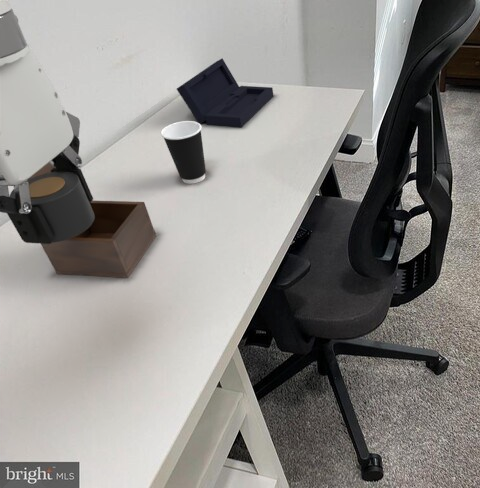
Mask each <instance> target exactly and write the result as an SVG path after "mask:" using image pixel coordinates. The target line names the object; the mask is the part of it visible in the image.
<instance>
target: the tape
mask: <svg viewBox="0 0 480 488" xmlns="http://www.w3.org/2000/svg"><path fill="white" fill-rule="evenodd" d="M28 183H29V190H30V197H31V204H32V207H38V208H39V209H40V210H41V212H42V214H43V216H44V218H45V220H46V222H47V224H48V226H49V228H50V229H51V231H52V233H53V235H54V241H53V242H52V243H55V242H60V241H64V240H67V239H70V238H73V237H75V236H77V235H79V234H81V233H82V232H84V231H85V230H86V229H88V228H89V227H90V226H91V224H92V223H93V221H94V218H95V215H94V212H93V210H92V208H91V205H90V203H89V201H88V198H87V196H86V194H85V192H84V189H83V187H82V185H81V182H80V180H79V178H78V176H77V175H76V174H74V173H71V172H64V171H59V172H50V173H45V174H42V175H38V176H35V177H33V178H30V179H28ZM9 196H10V197H11V198H14V199H15V192H14V188H13V189H12V190H11V192H10V193H9Z"/></svg>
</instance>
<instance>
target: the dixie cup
mask: <svg viewBox="0 0 480 488" xmlns="http://www.w3.org/2000/svg"><path fill="white" fill-rule="evenodd" d="M202 128H203V127H202V124H201V123H200V124H199V123H198V121H194V120H183V121H177V122H174V123H171V124H168V125H166V126H165V127H163V128H162V129H161V131H160V136H161V138H163V140H164V143H165V145H166V147H167V150H168V151H169V154H170V156H171V159H172V161H173V163H174V166H175V168H176V170H177V174H178V175H179V177H180V179H181V180H182V182H183V183H185V184H191V185H192V184H197V183H200V182H202V181H203V180H205V178H206V173H207V169H206V161H205V153H204V145H203V137H202V136H203V135H202Z"/></svg>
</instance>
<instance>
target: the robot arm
mask: <svg viewBox="0 0 480 488" xmlns="http://www.w3.org/2000/svg"><path fill="white" fill-rule="evenodd" d="M80 128H81V121H80V119H79V118H78V116H75V115H73V114H71V113H70V112H69V111H68V112H67V111H66V109H65V107H64V105H63V102H62V100H61V99H60V96H59V94H58V91H57V90H56V88H55V85H54V84H53V82H52V80H51V78H50V77H49V75H48V72H47V71H46V69H45V68H44V66H43V64H42V62H41V61H40V59H39V58H38V56H37V54H36V53H35V51H34V49H32V47H31V45H30V44H28V43H27V40H26V38H25V36H24V33H23V31H22V29H21V26H20V23H19V19H18V17H17V15H16V14H15V12H14V10H13V8H12V6H11V3H10V1H9V0H0V214H6V215H7V216H8V218H9V219H10V221H11V223H12V225H13V227H14V228H15V230H16V232H17V233H18V235H19V237H20V238H21V240H22V241H23V242H24V243H26V244H40V245H41V244H51V243H52V242H53V241H54V235H53V233H52V231H51V229H50V228H49V226H48V224H47V222H46V220H45V218H44V216H43V214H42V212H41V210H40V209H39V208H38V207H32V204H31V197H30V190H29V183H28V179H29V178H30V177H31V176H33V175H34V174H35V173H36V172H38V171H39V170H40V169H41V168H43V167H44V166H45V165H46V164H48V163H49V162H50V163H51V164H52V165H53V166H54V167H56V168H53V169H52V170H51V172H59V171H64V172H71V173H74V174H76V175H77V176H78V178H79V180H80V182H81V185H82V187H83V189H84V192H85V194H86V196H87V198H88V201H89V203H90V202H91V201H94V197H93V195H92V192H91V190H90V187H89V185H88V182H87V180H86V178H85V176H84V173H83V171H82V168H81V167H82V165H83V160H82V157H81V156H80V155H79V154H80V145H81V141H80V138H79V137H80ZM9 187H13V189H14V192H15V199H14V198H11V197H10V191H9Z"/></svg>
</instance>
